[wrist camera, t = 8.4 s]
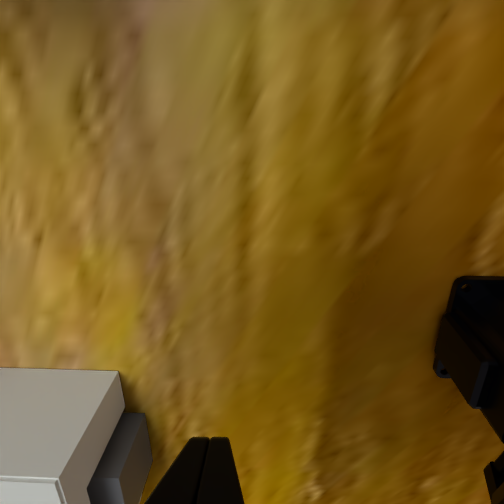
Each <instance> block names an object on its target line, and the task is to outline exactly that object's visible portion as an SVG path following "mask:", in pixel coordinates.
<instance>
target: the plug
mask: <svg viewBox="0 0 504 504" xmlns="http://www.w3.org/2000/svg"><path fill="white" fill-rule="evenodd" d="M152 461H153V459H152V453H151V447H150V441H149V435H148V429H147V423H146V417H145V413H122V414H121V417H120V419H119V421H118V423H117V425H116V427H115V429H114V431H113V433H112V436H111V438H110V440H109V442H108V444H107V446H106V448H105V450H104V452H103V455H102V457H101V459H100V461H99V463H98V465H97V467H96V469H95V471H94V474H93V476H92V478H91V480H90V482H89V484H88V486H87V488H86V489H87V493H88V496H89V500H90V503H91V504H139V501H140V498H141V495H142V492H143V489H144V486H145V483H146V480H147V477H148V473H149V470H150V467H151V464H152Z"/></svg>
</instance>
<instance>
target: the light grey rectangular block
mask: <svg viewBox="0 0 504 504" xmlns="http://www.w3.org/2000/svg"><path fill="white" fill-rule="evenodd" d="M124 408H125V403H124V398H123V392H122V387H121V382H120V377H119V372H118V371H96V370H63V369H30V368H0V504H91V503H90V500H89V496H88V493H87V489H86V488H87V486H88V484H89V482H90V480H91V478H92V476H93V474H94V471H95V469H96V467H97V465H98V463H99V461H100V459H101V457H102V455H103V452H104V450H105V448H106V446H107V444H108V442H109V440H110V438H111V436H112V433H113V431H114V429H115V427H116V425H117V423H118V421H119V419H120V417H121V414H122V412H123V410H124ZM141 497H142V495H141ZM140 500H141V498H140ZM139 503H140V501H139Z"/></svg>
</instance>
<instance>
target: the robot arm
mask: <svg viewBox="0 0 504 504" xmlns="http://www.w3.org/2000/svg"><path fill="white" fill-rule="evenodd" d="M465 284H468V285H467V287H465V288H463V289H461V288H462V286H463V285H465ZM435 353H436V357H435V361H434V365H433V369H434V371H435V373H436V374H437V376H438V377H440V378H452V380H453V381H454V383H455V384H456V386H457V387H458V389H459V391H460V392H461V394H462V395H463V397H464V398H465V400H466V401H467V403H468V404H469V405H470V406H471V407H472V408H473V409H480V410H481V412H482V413H483V415H484V416H485V418H486V419H487V421H488V422H489V424H490V425H491V427H492V428H493V429H494V431H495V432H496V434H497V435H498V437H499V438H500V440H501V441H502V442H503V443H504V277H495V276H462V277H459V278H457V279H456V280H455V281H454V284H453V287H452V291H451V295H450V299H449V303H448V308H447V312H446V313H445V314H444V315H443V318H442V322H441V326H440V330H439V334H438V339H437V343H436V347H435ZM443 368H445V369H444V370H441V369H443ZM484 475H485V479H486V483H487V487H488V491H489V495H490V499H491V504H504V451H503V452H502V454H501V455H500V456H499V457H498V458H497V459H496V460H495V461H494V462H493V461H491V462H490V463H489V464H488V465H487V466H486V467H485V468H484ZM144 504H244V500H243V495H242V491H241V487H240V483H239V479H238V474H237V470H236V466H235V462H234V458H233V453H232V449H231V445H230V441H229V439H228V438H227V437H212V438H211V439H209V438H208V437H192V438H191V439H189V441H188V442H187V444H186V445H185V446H184V448H183V449H182V451H181V452H180V453H179V455H178V456H177V458H176V459H175V461H174V462H173V463H172V465H171V466H170V468H169V469H168V471H167V472H166V473H165V475H164V476H163V478H162V479H161V481H160V482H159V483H158V485H157V486H156V488H155V489H154V490H153V492H152V493H151V495H150V496H149V498H148V499H147V500H146V502H145V503H144Z"/></svg>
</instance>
